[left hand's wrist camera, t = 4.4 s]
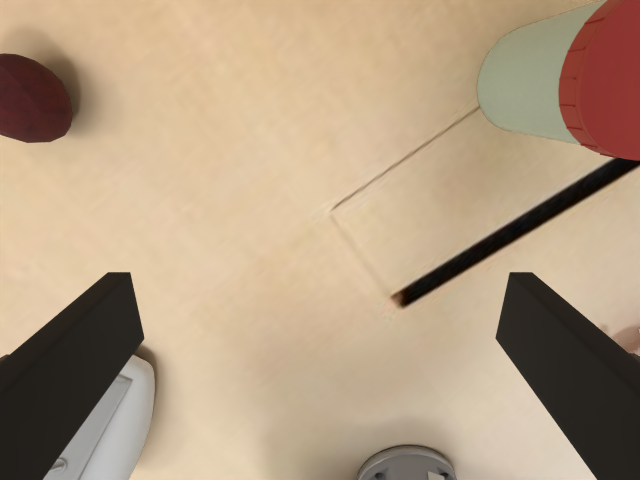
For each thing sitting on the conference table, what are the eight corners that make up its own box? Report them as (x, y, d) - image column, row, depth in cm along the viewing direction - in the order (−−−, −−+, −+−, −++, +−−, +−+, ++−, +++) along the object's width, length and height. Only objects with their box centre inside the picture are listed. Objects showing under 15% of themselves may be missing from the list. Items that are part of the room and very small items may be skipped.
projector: (207, 446, 54) (170, 564, 41) (72, 478, 57) (-6, 598, 43) (136, 327, 46) (60, 424, 33) (-17, 370, 49) (-146, 476, 35)
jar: (456, 86, 36) (546, 80, 22) (536, -1, 33) (700, -73, 19) (517, 151, 38) (635, 185, 24) (597, 75, 36) (783, 61, 21)
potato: (44, 41, 34) (-20, 28, 28) (105, 113, 37) (58, 117, 30) (-6, 88, 36) (-79, 86, 29) (55, 154, 38) (1, 167, 32)
